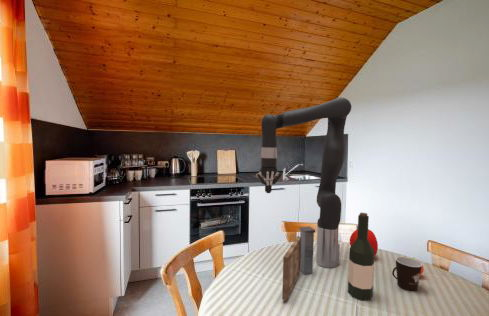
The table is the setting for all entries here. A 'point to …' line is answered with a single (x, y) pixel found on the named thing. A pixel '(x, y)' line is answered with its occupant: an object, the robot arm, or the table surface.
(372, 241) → the tomato
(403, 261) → the coffee mug
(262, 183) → the robot arm
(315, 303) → the table surface
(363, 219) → the wine bottle
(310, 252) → the gate post
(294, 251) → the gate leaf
